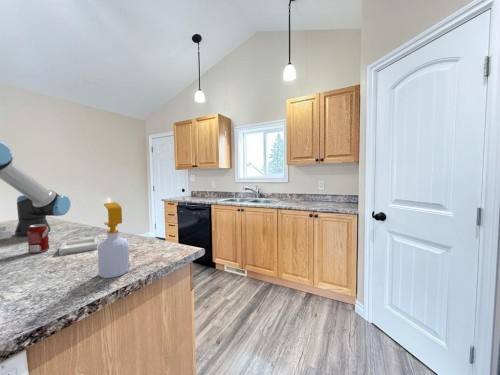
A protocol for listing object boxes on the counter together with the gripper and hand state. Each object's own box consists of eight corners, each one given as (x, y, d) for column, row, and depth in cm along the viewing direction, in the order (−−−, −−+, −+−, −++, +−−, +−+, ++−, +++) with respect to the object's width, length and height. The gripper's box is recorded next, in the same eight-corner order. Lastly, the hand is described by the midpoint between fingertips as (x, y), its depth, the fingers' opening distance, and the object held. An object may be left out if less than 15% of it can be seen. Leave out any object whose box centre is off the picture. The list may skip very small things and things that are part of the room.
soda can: (39, 254, 98) (37, 227, 97) (24, 254, 98) (22, 227, 98) (53, 249, 105) (51, 223, 104) (39, 249, 105) (37, 223, 104)
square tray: (63, 247, 108) (63, 241, 107) (97, 242, 115) (97, 237, 115) (59, 255, 96) (59, 249, 96) (97, 249, 104) (97, 244, 104)
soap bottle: (123, 265, 85) (120, 200, 84) (133, 271, 80) (131, 202, 78) (95, 273, 79) (92, 203, 77) (105, 281, 73) (101, 205, 71)
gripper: (-80, 248, 84) (3, 235, 101) (-85, 263, 69) (14, 245, 86) (-82, 228, 84) (3, 219, 101) (-87, 238, 69) (13, 226, 86)
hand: (8, 231), depth 93 cm, fingers open, 13 cm apart
